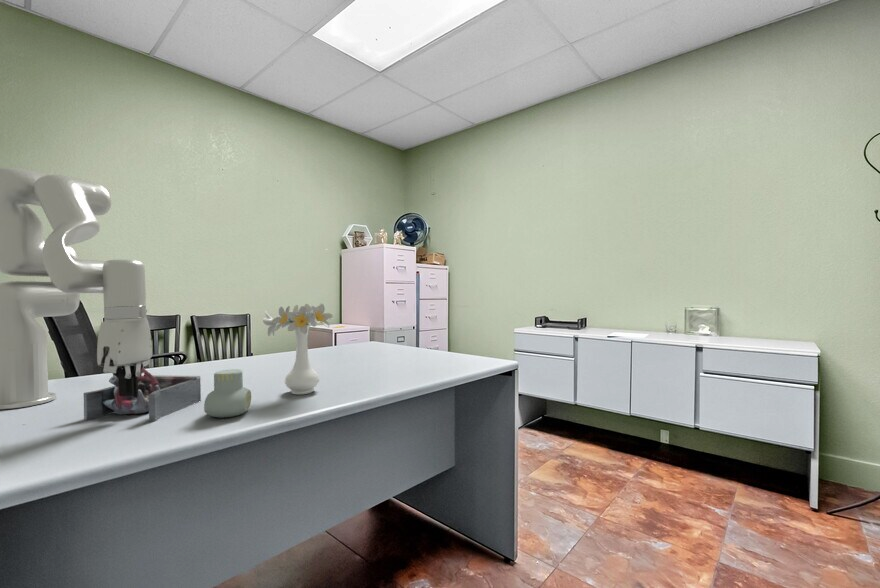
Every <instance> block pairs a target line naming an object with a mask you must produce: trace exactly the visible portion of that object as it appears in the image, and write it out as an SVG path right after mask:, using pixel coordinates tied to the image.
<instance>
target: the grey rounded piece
mask: <svg viewBox="0 0 880 588" xmlns="http://www.w3.org/2000/svg"><path fill="white" fill-rule="evenodd" d="M243 377H244V376H243V370H241V369H234V368H229V369H222V370H218V371H215V372H214V373H213V390H211V391H210V392H209V393H207V395H206V397H205V399H204V404H203V405H204V406H203V409H204V412H205V414H207V415H209V416H210V417H214V418H219V419H221V418H224V417H225V418H231V417H237V416H241V415H242V414H244V413H246V412H247V411H248V410H249V409H250V406H251V402H252V392H251V390H250V389H249V388H247V387H244V384H243V381H244V379H243ZM240 414H241V415H240Z"/></svg>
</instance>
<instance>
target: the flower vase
mask: <svg viewBox="0 0 880 588" xmlns="http://www.w3.org/2000/svg"><path fill="white" fill-rule="evenodd" d="M290 309H291V307H290V305H288V306H287V307H286V308H285V309H284V307H283V306H279V308H278V315H279V316H277V317H275V318H273V317H272V316H271V315H270V314H269V313H268V311H267V310H264V314H265V316H266V317H264V318H262V322H263V323H264V325H266V326H268V328H267V336H268V337H270V336H271V335H272V336H275V332H277V331H278V330H279V329H280V328H285V327H287V326H288V327H287V331H288V332H293V331H294V333H295V338H296V340H295V342H296V343H295V344H296V348H295V349H296V350H295V351H296V352H295V361H294V364H293V367H292V368H291V369H290V371H289V372H288V373H287V374H286V376H285V378H284V384H285V387H286V388H287V389H289V390H290V393H291V394H292V395H297V396H299V395H306V394H312V393H313V392H314V391H315V389H314V388H316V387H317V385H318V384H319V382H320V379H321V378H320V375H319V373H318V372H317V371H316V370H315V368H313V366H312V365H311V362H310V359H309V350H308V336H309V330H310V328H311V326H312V327H313V328H314V327H316V326H317V324H319V323H321V324H322V325H323V326H325V327H326V328H330V326H331V325H330V323H329V321H327V320H332V319H333V318H334V315H333V314H331V313H329V312H325V310H326V308H325V304H324V303H320V304H319V305H317V306H315V305H311V306H310V305H309V304H308V303H305V304H304V305H302V306H300V307H299V305H298V304H295V306H293V309H292V312H291V311H290Z"/></svg>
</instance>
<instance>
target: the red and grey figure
mask: <svg viewBox="0 0 880 588" xmlns="http://www.w3.org/2000/svg"><path fill="white" fill-rule="evenodd" d="M142 374H143V375H142ZM152 375H153V374H152V373H150V372H149V371H148V370H147V369H146V368H145V367H143V368H142V369H141V371H140V375H139V376H138V377H137V378H138V394H136V395H133V396H119V379H116V377H115V375H114V374H113V373H112V377H110V378H109V379H108V382H109V384H111V385H112V386H116V387H115V389H114V396H115V399H113V400H106V401H104V402H103V404H104V405H106V406H107V407H109V408H111V409H112V410H114V411H115V412H114V413H116V414H117V415H127V414H128V415H129V414H132V415H134V414H135V415H136V414H137V415H138V414H144V413H147V412H149V394H151V393H152V392H154V391H157V390H160V388H159V383H158V381H157V380H156V378H155V377H154V376H152ZM148 377H149V378H148ZM142 380H143V381H146V382H149V385H148V386H147V391H146V388H145V385H144V384H143V383H142V382H141V381H142Z"/></svg>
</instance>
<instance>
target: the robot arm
mask: <svg viewBox="0 0 880 588" xmlns="http://www.w3.org/2000/svg"><path fill="white" fill-rule="evenodd" d="M28 205H33V206H38V207H41V209H42V210H43V212H44V214H45V216H46V219H47V221H48V223H49V224H50V227H51V228H52V230H53V231H52V232H51V233H50V234H49V235H48V236H47V238H46V239H45V240H44V236H43V235H44V234H43V223H42V221H41V219H40V218H39V217H38V215H37V214H36V213H35V212H34V210H33V209H32V208H31V207H29V206H28ZM111 207H112V197H111V195H110V193H109V191H108V190H107V188H105V187H104V186H103V185H102V184H99V183H97V182H94V181H90V180H85V179H81V178H75V177H72V176H67V175H62V174H61V175H60V174H48V173H44V172H41V171H40V172H39V171H34V170H29V169H24V168H19V167H13V166H12V167H11V166H10V167H7V166H6V167H5V166H3V167H0V272H1V273H2V274H4V275H9V276H17V277H18V276H19V277H42V278H43V277H44V278H45V277H46V278H47V277H48V278H49V279H50V281H35V280H33V281H31V280H30V281H28V280H27V281H24V280H19V281H17V280H16V281H12V280H11V281H4V282H0V410H11V409H19V408H25V407H31V406H36V405H41V404H44V403H45V404H47V403H49V402H51V401H54V400H55V399H57V394H56V393H55V392H49V371H48V370H49V369H48V367H49V366H48V335H47V332H46V329H45V328H44V327H43V326H42V325H41V324H40V323H39V322H38V321H37V320H36V319H35V318H48V317H64V316H65V317H66V316H69V315H73V314H74V313H75V312H76V311H77V310H78V308H79V306H80V301H81V294H103V314H104V315H103V317H104V318H103V319H104V321H102V322H100V326H99V328H98V329H99V330H98V334H97V343H96V344H97V348H96V362H97V366H99V367H102V368H103V371H102V373H104V374H112V375H113V374H114V375H115V377H116V379H119V396H133V395H136V394H138V378H137V377H138V376H139V375H140V371H141V369H142V368H143V367H144V368H145V367H147V366H149V365H150V359H151V358H152V357H153V356H152V355H153V344H152V343H153V342H152V334H151V329H150V325H149V320H148V319H147V314H148V309H147V297H146V296H147V295H146V292H147V291H146V274H145V273H146V270H145V265H144V263H143V262H142V261H140V260H135V259H123V258H121V259H119V258H118V259H110V260H109V259H108V260H106V261H105V260H95V259H94V260H93V259H92V260H91V259H80V258H79V255H78V253H77V251H76V250H75V249H74V247H72V246H73V245H75V244H79V243H83V242H86V241H88V240H91V239H92V238H94V237H96V235H98V233H99V232H100V229H101V227H100V223H99V221H98V219H97V217H96V216H103V215H105V214H107V213H108V212H109V211H110V209H112V208H111ZM71 245H72V246H71Z"/></svg>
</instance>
